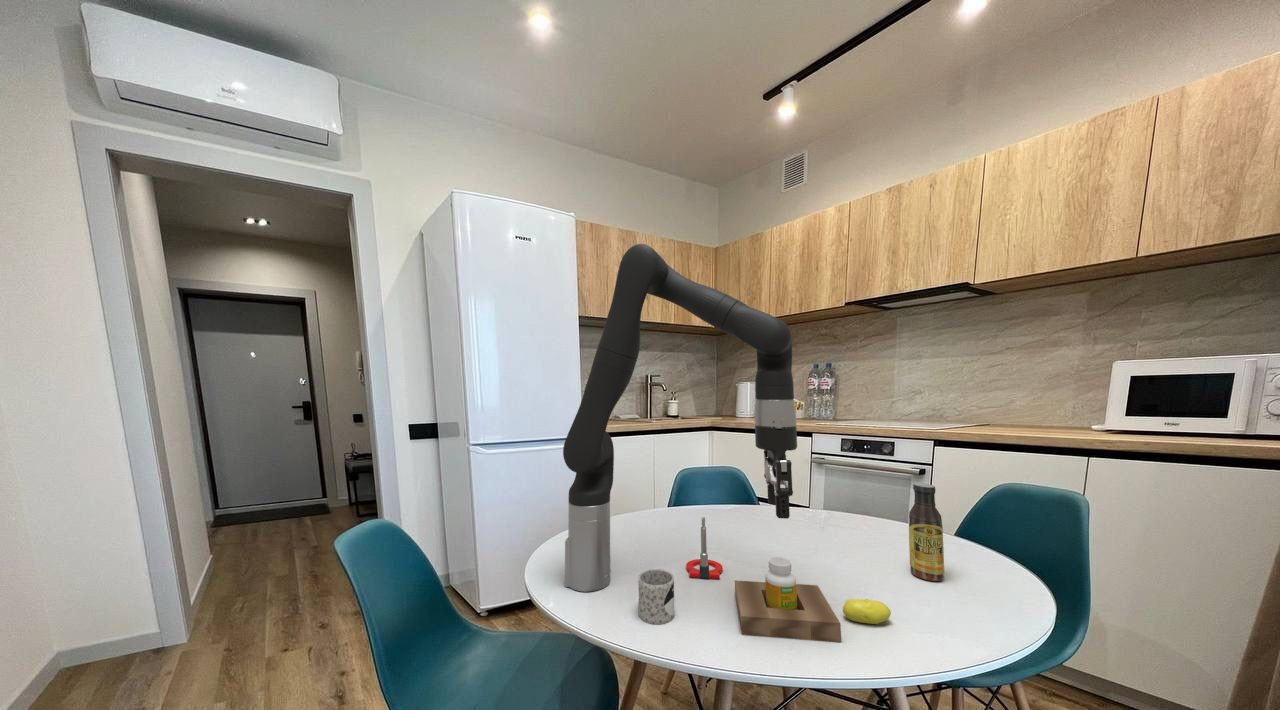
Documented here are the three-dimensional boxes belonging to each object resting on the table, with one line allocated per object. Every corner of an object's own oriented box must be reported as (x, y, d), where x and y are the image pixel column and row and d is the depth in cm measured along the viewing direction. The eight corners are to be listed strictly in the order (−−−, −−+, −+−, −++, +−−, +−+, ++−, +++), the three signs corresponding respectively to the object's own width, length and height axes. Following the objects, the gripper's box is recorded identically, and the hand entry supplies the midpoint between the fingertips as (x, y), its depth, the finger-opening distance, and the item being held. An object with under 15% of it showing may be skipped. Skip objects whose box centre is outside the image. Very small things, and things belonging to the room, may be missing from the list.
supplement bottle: (782, 628, 69) (780, 570, 70) (760, 613, 74) (758, 559, 75) (804, 619, 72) (801, 563, 73) (781, 605, 76) (779, 553, 77)
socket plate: (741, 634, 68) (741, 616, 68) (734, 595, 80) (734, 580, 81) (841, 642, 65) (840, 623, 65) (818, 601, 78) (817, 585, 78)
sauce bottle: (914, 580, 86) (907, 486, 88) (907, 568, 92) (901, 480, 94) (951, 585, 84) (943, 488, 85) (941, 573, 89) (934, 482, 91)
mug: (673, 626, 70) (672, 587, 71) (636, 623, 71) (635, 584, 72) (676, 597, 80) (676, 563, 81) (644, 595, 81) (644, 561, 82)
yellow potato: (839, 613, 74) (838, 591, 74) (887, 617, 72) (885, 595, 73) (847, 626, 70) (845, 603, 70) (897, 631, 68) (895, 607, 69)
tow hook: (686, 562, 97) (685, 578, 88) (686, 508, 99) (684, 517, 90) (721, 565, 96) (723, 581, 87) (720, 509, 98) (722, 519, 89)
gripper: (750, 420, 84) (752, 499, 82) (760, 426, 69) (763, 522, 68) (787, 420, 82) (790, 501, 81) (805, 426, 68) (809, 524, 67)
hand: (778, 510), depth 74 cm, fingers open, 8 cm apart
